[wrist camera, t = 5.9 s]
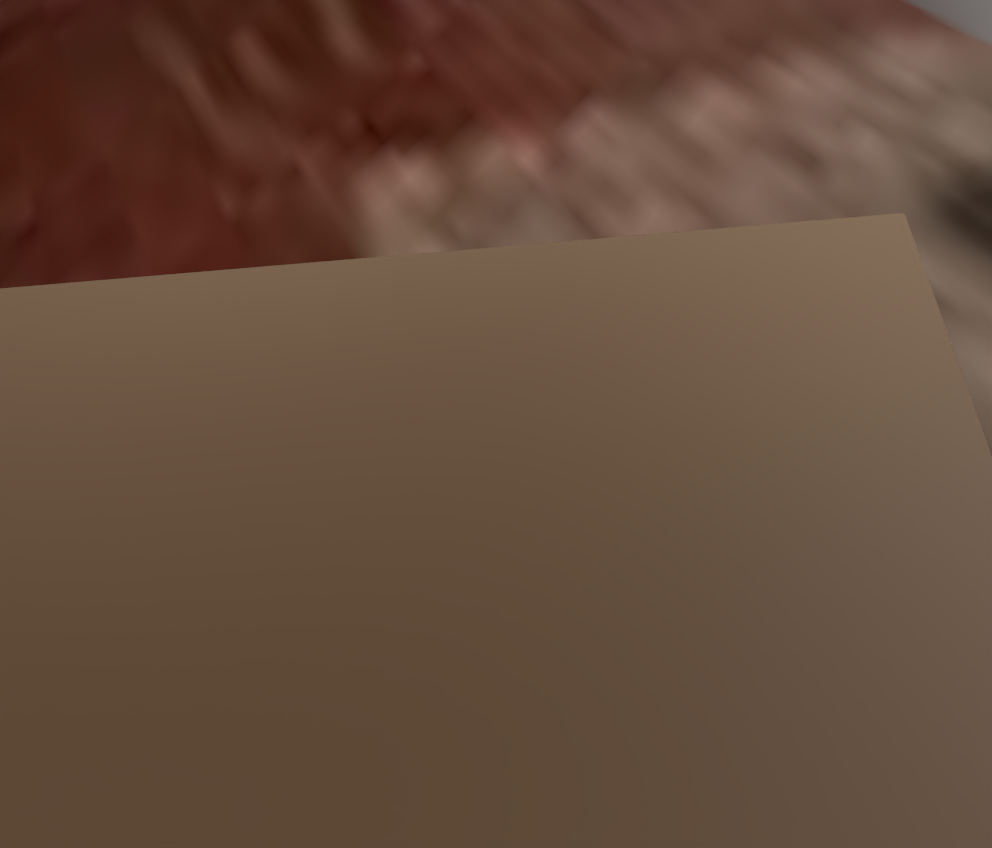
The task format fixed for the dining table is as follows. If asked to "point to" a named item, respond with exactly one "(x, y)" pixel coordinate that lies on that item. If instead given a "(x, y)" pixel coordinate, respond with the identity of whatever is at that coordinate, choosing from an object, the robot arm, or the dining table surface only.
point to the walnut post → (498, 551)
